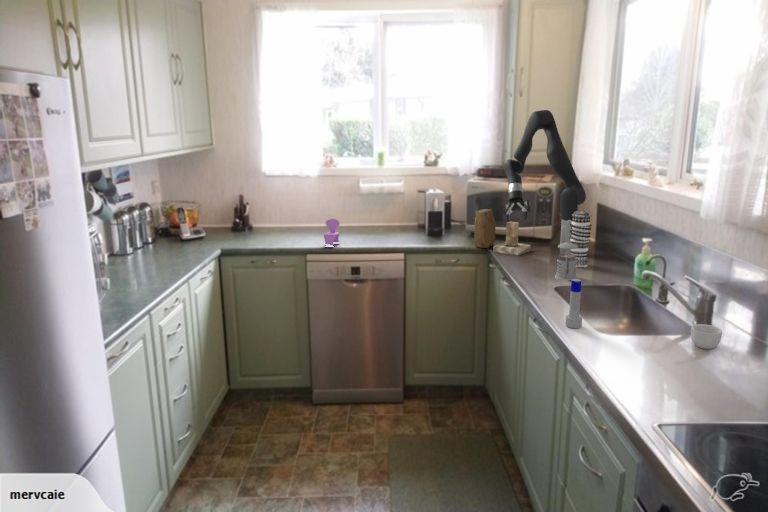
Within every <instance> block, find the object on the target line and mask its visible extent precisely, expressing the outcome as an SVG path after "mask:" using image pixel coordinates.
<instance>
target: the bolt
mask: <svg viewBox="0 0 768 512" xmlns="http://www.w3.org/2000/svg"><path fill="white" fill-rule="evenodd" d="M581 291H582V280H581V279H579V278H578V279H572V280H571V281H570V295H569V296H570V297H569V309H568V314H566V316H565V326H566V327H567V328H569V329H580V328H582V325H583V316H581V315H580V310H581V308H580V307H581V293H582V292H581Z"/></svg>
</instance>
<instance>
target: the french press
mask: <svg viewBox="0 0 768 512" xmlns="http://www.w3.org/2000/svg"><path fill="white" fill-rule="evenodd" d="M567 223H569V226H570V223H572V221H571V220H568V221H567ZM557 248H558V249H560V248H561V249H567V252H566V254H561V253H559V254H558V257H557V260H556V262H557V263H556V265H557V266H556V268H557V269H556V274H555V275H554V276H555V278H556V279H555V278H554V279H555V280H558V279H560V280H559V281H562V280H572V279H577V277H578V276H577V268H576V267H575V266H576V265H577V264H576V262H577V259H576V255H574V254H571V252H570V254H568V249H576V248H578V246H577V245H576V244H573V243H569V232H568V242H566V243H562V244H560V243H559V244H558V245H557ZM574 264H575V265H574Z"/></svg>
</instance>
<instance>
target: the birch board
mask: <svg viewBox="0 0 768 512" xmlns="http://www.w3.org/2000/svg"><path fill="white" fill-rule="evenodd" d="M531 247H532V246H531V244H526V243H519V242H518V246H517V247H508V246H506V241H505V242H502V243H498V244H496V245H493V247H492V248H493V250H492V251H493V253H499V254H505V255H511V256H516V257H517V256H520V255H523V254H525V253H529V252H530V251H531Z"/></svg>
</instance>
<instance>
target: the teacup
mask: <svg viewBox="0 0 768 512" xmlns="http://www.w3.org/2000/svg"><path fill="white" fill-rule="evenodd" d="M722 335H723V330H722V329H721V328H719V327H718V326H714V325H711V324H705V323H704V324H703V323H699V324H697V323H696V324H693V325H692V326H691V328H690V339H691V341H692V343H693V344H694V346H696V347H698V348H701V349H703V350H712V349H714V348H717V347H718V346H719V344H720V343H721V341H722Z"/></svg>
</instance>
